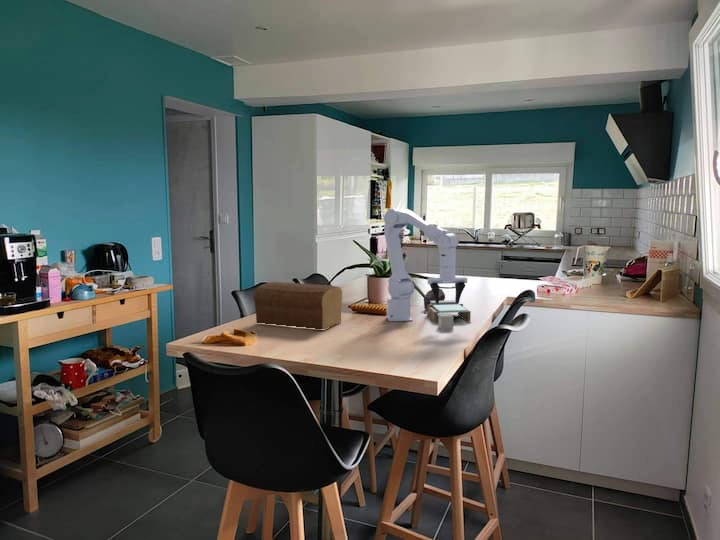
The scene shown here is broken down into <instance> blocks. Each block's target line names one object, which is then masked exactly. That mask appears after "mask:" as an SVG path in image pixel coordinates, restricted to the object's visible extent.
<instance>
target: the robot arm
mask: <svg viewBox="0 0 720 540" xmlns="http://www.w3.org/2000/svg"><path fill="white" fill-rule="evenodd" d="M383 221H384V229H383V230H384V232H383V233H384V238H385V243H386V249H387V253H388V259H389V265H390V270H391V276H389V278H388V280H387V282H388V288H387V291H388V293H389V295H390V297H387V299H386V319H387V320H388V322H412V321H414V320H413V318H412V317H411V297H412V294H413V293H414V292H415V285H414V282H413V281H412V278H411V277H412V276H411V275H409V273H408V272H406V268H405V267H406V266H405V262H404V261H405V260H404V256H403V250H402V247H401V246H402V245H401V239H400V232H401V231H402V229H404V228H405V227H406V226H407V225H408V224H409V225H410V226H413V227H414V228H416V229H418V230H420V231H421V232H423V236H424V237H426V238H427V239H429V240H430V241H432V242H433V243H435V244H436V246H437V248H438V253H439V277H430V278H427V284H428V285H429V287H430V288H431V289H432V291H433V294H434V297H435V302H436V303H437V304H439V289H440V284H454V286H455V299H454V300H456V303H458V304H460V299H461V296H462V293H463V291H464V289H465V287H466V284H468V277H466V276H465V277H464V276H463V277H462V276H461V277H457V276H456V257H457V253H456V252H457V251H456V250H457V249H456V248H457V247H458V246H459V243H460V240H459V237H458V235H457V234H456V233H454V232H450V233H449V232H448V229H443V228H441V227H440V226H439V224H438V223H436V222H435V223H434V222H433V223H432V222H431V223H428V222H427V221H425V220H423V219H422V217H419V216H418V215H417V214H415V213H414V211H413V210H410V209H409V208H407V207H405V208H388V209H387V210H386V212H385V214H384V215H383ZM431 289H430V290H431Z"/></svg>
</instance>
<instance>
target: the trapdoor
mask: <svg viewBox="0 0 720 540" xmlns="http://www.w3.org/2000/svg"><path fill="white" fill-rule="evenodd" d="M452 304H453V305H452ZM459 304H460V303H456V300H455V299H454V300H453V299H452V300H449V299H448V300H444V301H439V304H437V303H436V302H435V301H430V305H433V306H432V308H434V309H435V310H436V311H437V312H438V314H451V313H458V312H467V310H466V309H467V308H466V307H465V306H463V307H462V306H461V305H459ZM464 307H465V308H466V309H465V308H464Z"/></svg>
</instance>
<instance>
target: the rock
mask: <svg viewBox="0 0 720 540" xmlns="http://www.w3.org/2000/svg"><path fill="white" fill-rule="evenodd" d="M425 296H426V298H427V299H428V300H427V299H426V298H425ZM425 296H424V298H423V307H424V308H423V309H424V310H427V306H428V305H430V301H435V297H434V294H433V291H432V289H429V290H428V291H427V292H426V294H425ZM445 299H446V294H445V292H444V291H443V289H441V288H439V301H445ZM433 309H434V308H433Z"/></svg>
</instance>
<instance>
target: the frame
mask: <svg viewBox="0 0 720 540" xmlns="http://www.w3.org/2000/svg"><path fill="white" fill-rule="evenodd" d="M458 304H459V305H461V306H462V307H464V308H465V309H466V310H467V312H457V315H458V314H459V315H458V316H460V317H461V318H462V317H463V318H464V319H463V318H462V319H463V320H465V321H466V322H467V321H470V322H471V317H472V316H471V313H472V312H471V310H469V309H468V308H466V307H465V306H464V304H463V303H458ZM452 305H453V304H452ZM432 306H433V305H428V306H427V309H426V314H427V317H428V318H429V319H430V320H431V321H432V322H433V323H435V322H436V323H438V322H439V312H438V311H437V310H436V309H433V308H432Z"/></svg>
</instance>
